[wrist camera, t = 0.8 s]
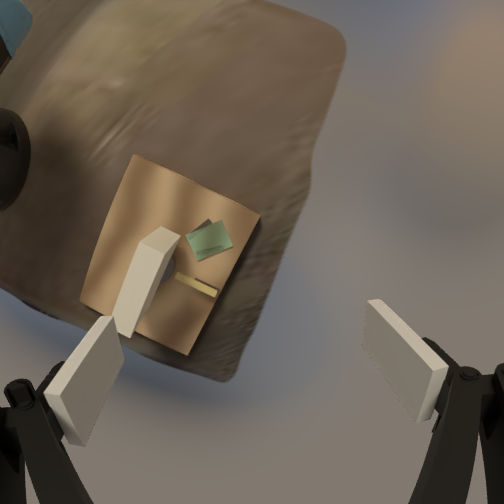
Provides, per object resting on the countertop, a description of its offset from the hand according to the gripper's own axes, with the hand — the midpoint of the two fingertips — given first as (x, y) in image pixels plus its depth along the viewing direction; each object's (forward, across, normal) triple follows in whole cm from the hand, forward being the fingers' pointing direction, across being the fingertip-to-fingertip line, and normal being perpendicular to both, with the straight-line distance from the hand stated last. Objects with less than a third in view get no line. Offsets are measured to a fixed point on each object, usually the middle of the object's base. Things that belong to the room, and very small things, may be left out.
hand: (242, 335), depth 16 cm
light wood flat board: (+23, -9, -2) cm, 25 cm away
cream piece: (+21, -7, -3) cm, 22 cm away
